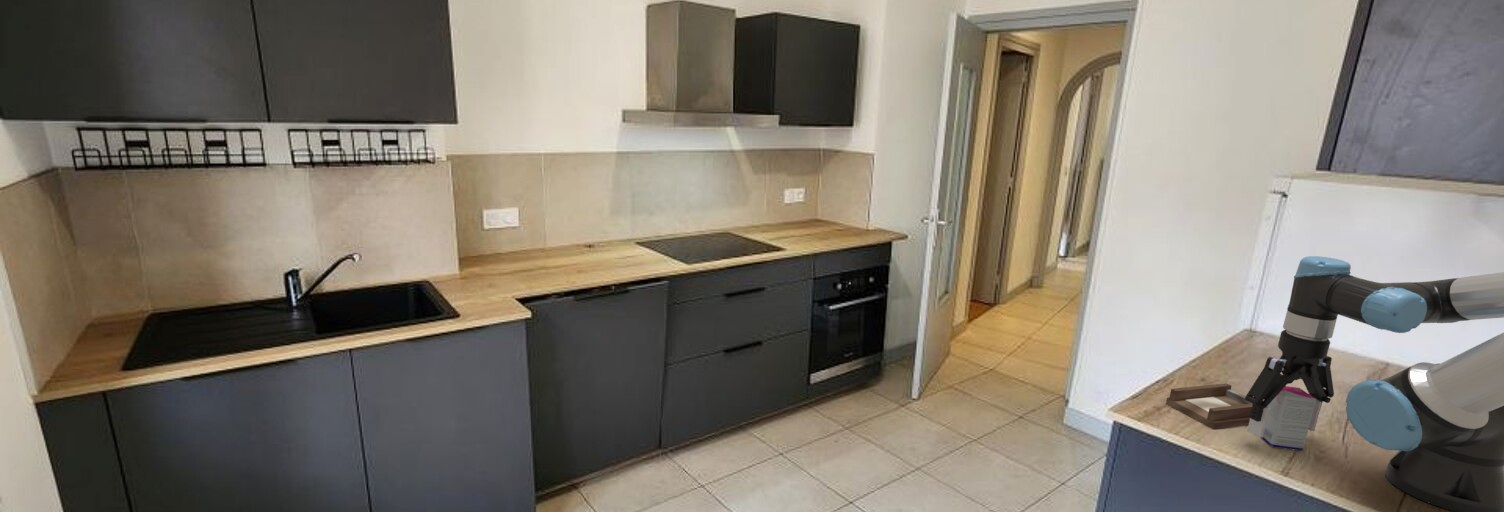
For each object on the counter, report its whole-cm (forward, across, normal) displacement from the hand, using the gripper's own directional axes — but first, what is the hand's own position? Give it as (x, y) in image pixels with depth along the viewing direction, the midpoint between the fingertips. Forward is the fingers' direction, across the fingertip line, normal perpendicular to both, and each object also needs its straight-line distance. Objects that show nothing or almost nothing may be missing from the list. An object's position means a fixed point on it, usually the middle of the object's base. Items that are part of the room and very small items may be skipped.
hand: (1280, 431), depth 132 cm
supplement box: (+2, 0, 0) cm, 3 cm away
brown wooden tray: (+2, +1, -13) cm, 13 cm away
